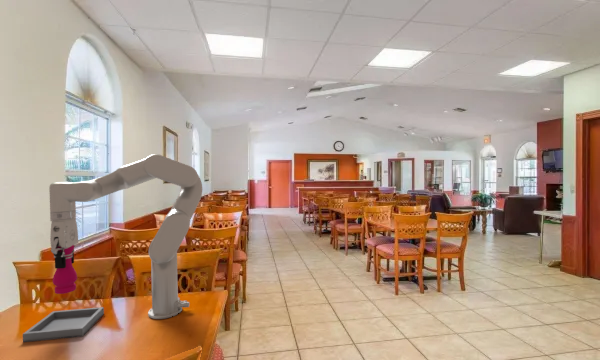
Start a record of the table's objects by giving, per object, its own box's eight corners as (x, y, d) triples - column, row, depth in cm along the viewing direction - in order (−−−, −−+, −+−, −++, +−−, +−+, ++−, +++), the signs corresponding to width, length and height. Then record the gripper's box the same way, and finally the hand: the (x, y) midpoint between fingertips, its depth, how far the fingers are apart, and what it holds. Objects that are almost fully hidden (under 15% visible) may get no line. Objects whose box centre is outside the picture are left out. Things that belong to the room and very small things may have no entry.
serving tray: (103, 313, 129) (103, 307, 129) (82, 336, 111) (82, 328, 111) (53, 318, 126) (52, 311, 126) (22, 342, 108) (22, 334, 108)
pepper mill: (64, 295, 114) (62, 238, 113) (47, 293, 115) (45, 238, 115) (82, 287, 121) (80, 234, 120) (66, 286, 123) (64, 234, 122)
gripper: (62, 218, 110) (64, 272, 110) (85, 212, 127) (86, 259, 127) (37, 219, 108) (39, 273, 109) (64, 213, 125) (65, 260, 126)
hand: (64, 265), depth 118 cm, fingers closed on pepper mill, 5 cm apart
